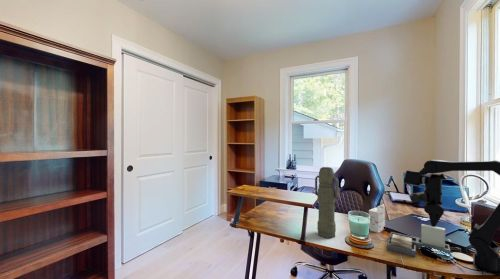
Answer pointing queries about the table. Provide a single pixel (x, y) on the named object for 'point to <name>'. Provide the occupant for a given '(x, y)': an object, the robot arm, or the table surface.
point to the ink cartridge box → (377, 218)
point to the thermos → (326, 202)
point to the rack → (415, 245)
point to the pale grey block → (433, 235)
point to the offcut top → (402, 239)
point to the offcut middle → (401, 244)
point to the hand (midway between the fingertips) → (432, 223)
